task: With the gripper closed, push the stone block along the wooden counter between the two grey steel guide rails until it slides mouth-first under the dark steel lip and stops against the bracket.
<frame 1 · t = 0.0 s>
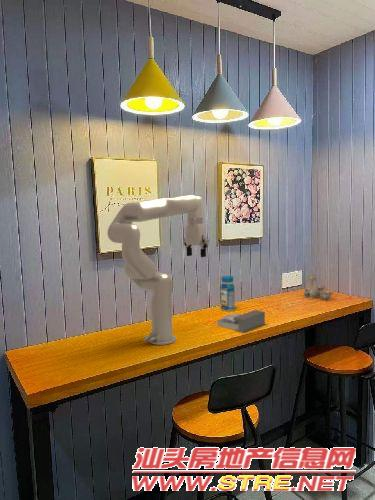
hand: (196, 256, 184), 37 cm above the table, tool pointing down, fingers open, 9 cm apart
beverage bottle: (228, 309, 223), on the table
chinaware: (316, 297, 248), on the table
steel lip bracket: (240, 324, 192), on the table
stone block: (230, 323, 196), on the table
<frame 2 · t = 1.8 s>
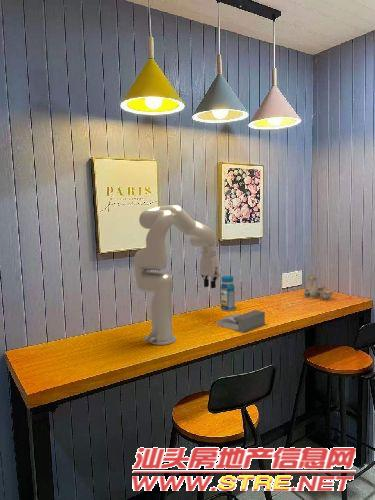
hand: (209, 287, 205), 17 cm above the table, tool pointing down, fingers open, 4 cm apart
nothing on the table moved.
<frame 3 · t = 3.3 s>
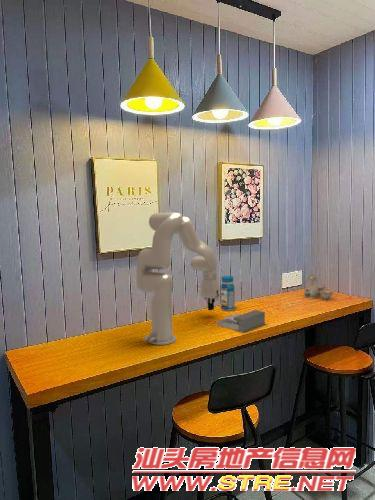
hand: (211, 309, 206), 4 cm above the table, tool pointing down, fingers closed
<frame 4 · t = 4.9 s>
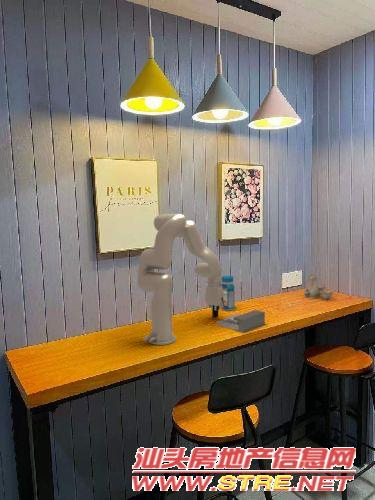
hand: (215, 317, 204), 1 cm above the table, tool pointing down, fingers closed
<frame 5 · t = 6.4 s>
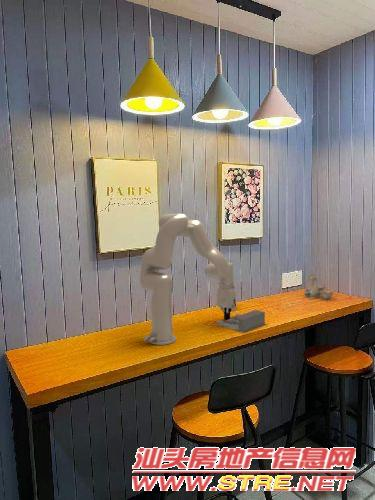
hand: (227, 319, 198), 1 cm above the table, tool pointing down, fingers closed
stone block: (237, 324, 194), on the table, touching gripper
everything else where it was.
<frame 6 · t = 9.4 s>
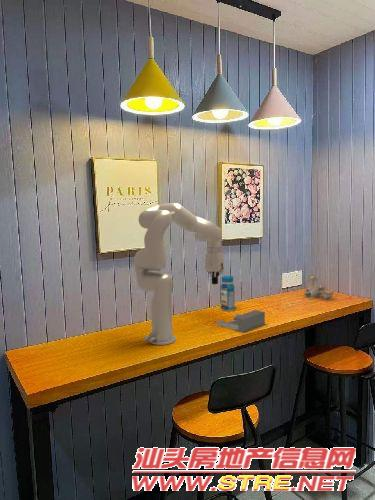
hand: (214, 283, 201), 20 cm above the table, tool pointing down, fingers closed
stone block: (241, 325, 192), on the table
everything else where it was.
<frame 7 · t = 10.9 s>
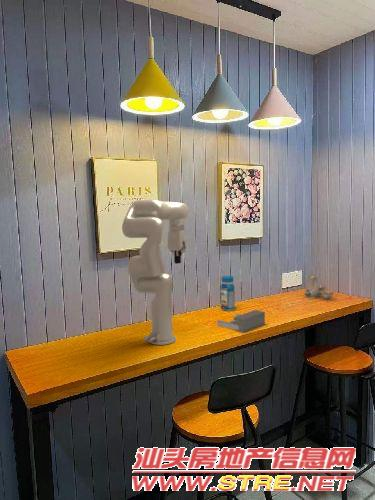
hand: (177, 263, 196), 32 cm above the table, tool pointing down, fingers closed
nothing on the table moved.
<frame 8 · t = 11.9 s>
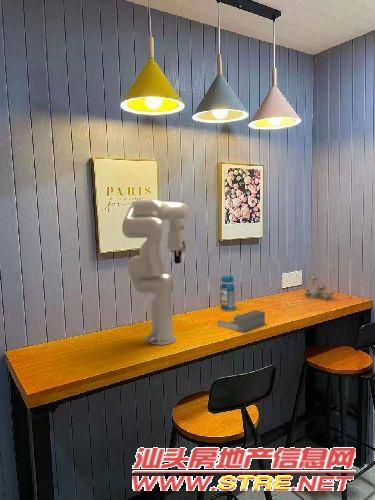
hand: (177, 263, 196), 32 cm above the table, tool pointing down, fingers closed
nothing on the table moved.
at the end: stone block 0.8 cm from the target spot, on the table; stone block tilted 0° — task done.
